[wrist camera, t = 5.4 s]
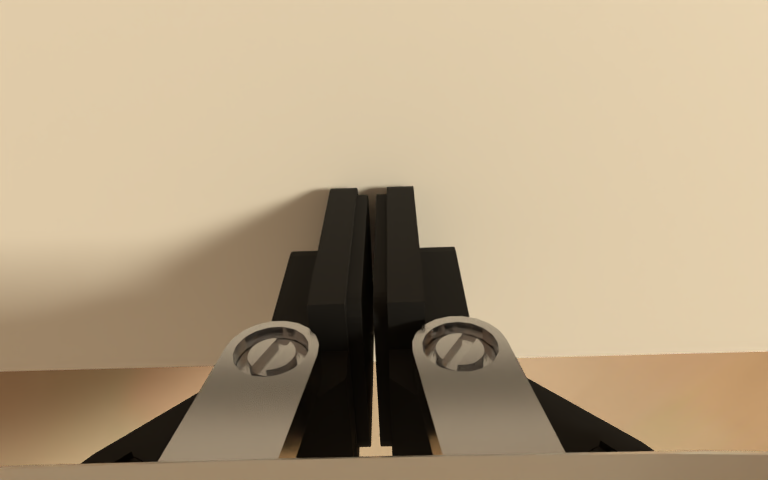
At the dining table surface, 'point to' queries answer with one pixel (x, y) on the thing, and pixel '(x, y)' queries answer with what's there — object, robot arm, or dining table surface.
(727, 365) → the dining table surface
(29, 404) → the dining table surface
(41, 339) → the pale plank
